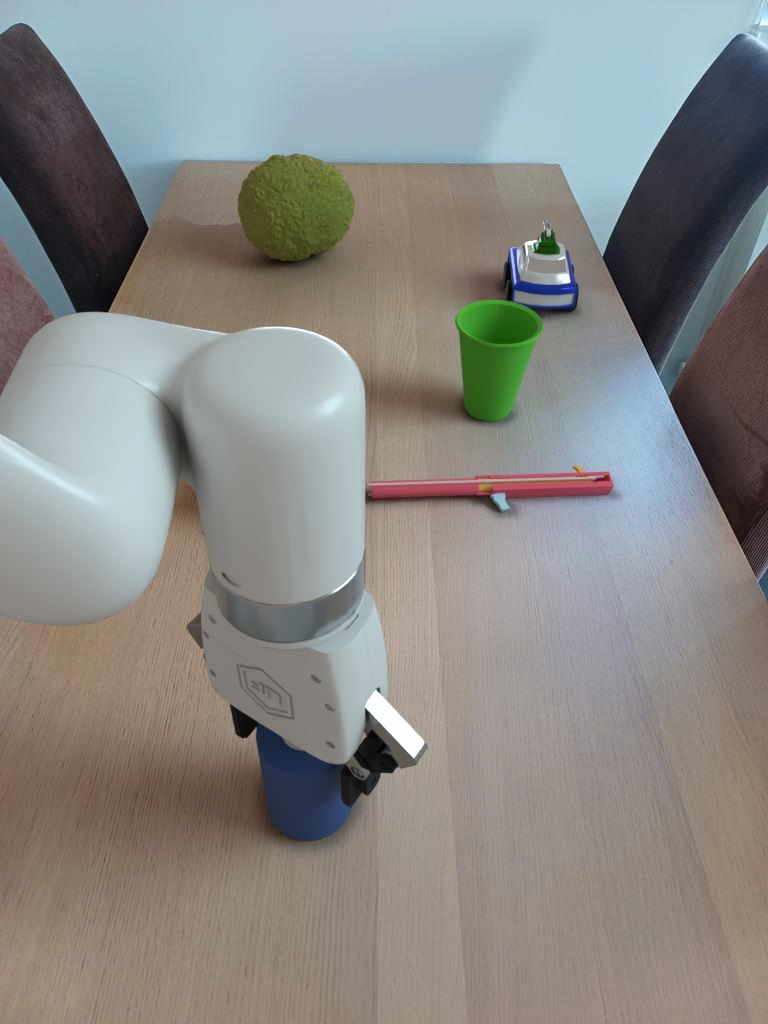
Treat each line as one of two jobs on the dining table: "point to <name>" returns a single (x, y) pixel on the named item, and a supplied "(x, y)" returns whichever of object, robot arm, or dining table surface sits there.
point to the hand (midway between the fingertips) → (306, 752)
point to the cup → (495, 354)
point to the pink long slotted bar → (500, 486)
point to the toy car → (541, 274)
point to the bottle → (300, 788)
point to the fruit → (295, 206)
